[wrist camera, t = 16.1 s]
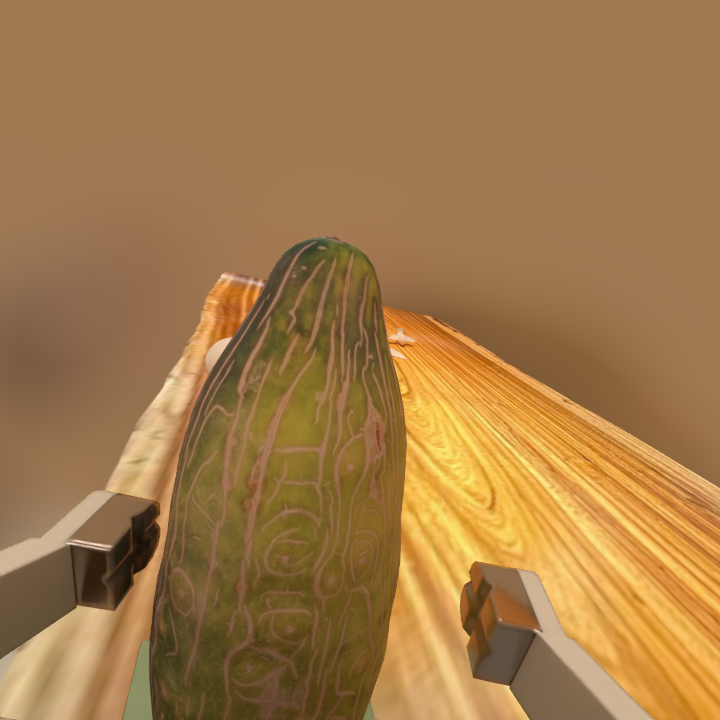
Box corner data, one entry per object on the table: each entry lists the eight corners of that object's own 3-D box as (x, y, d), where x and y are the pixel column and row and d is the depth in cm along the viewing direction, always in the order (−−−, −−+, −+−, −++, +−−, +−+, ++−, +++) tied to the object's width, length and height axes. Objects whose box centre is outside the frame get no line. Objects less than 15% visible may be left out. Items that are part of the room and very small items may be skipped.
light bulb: (245, 401, 54) (252, 330, 51) (261, 424, 49) (269, 347, 46) (197, 406, 51) (201, 330, 47) (208, 432, 46) (214, 348, 42)
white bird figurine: (389, 343, 95) (391, 325, 95) (383, 344, 100) (385, 326, 100) (418, 347, 97) (419, 329, 97) (411, 347, 102) (413, 330, 102)
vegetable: (360, 766, 15) (525, 274, 8) (244, 1034, 10) (439, 279, 3) (253, 666, 18) (314, 229, 11) (114, 836, 12) (69, 189, 6)
